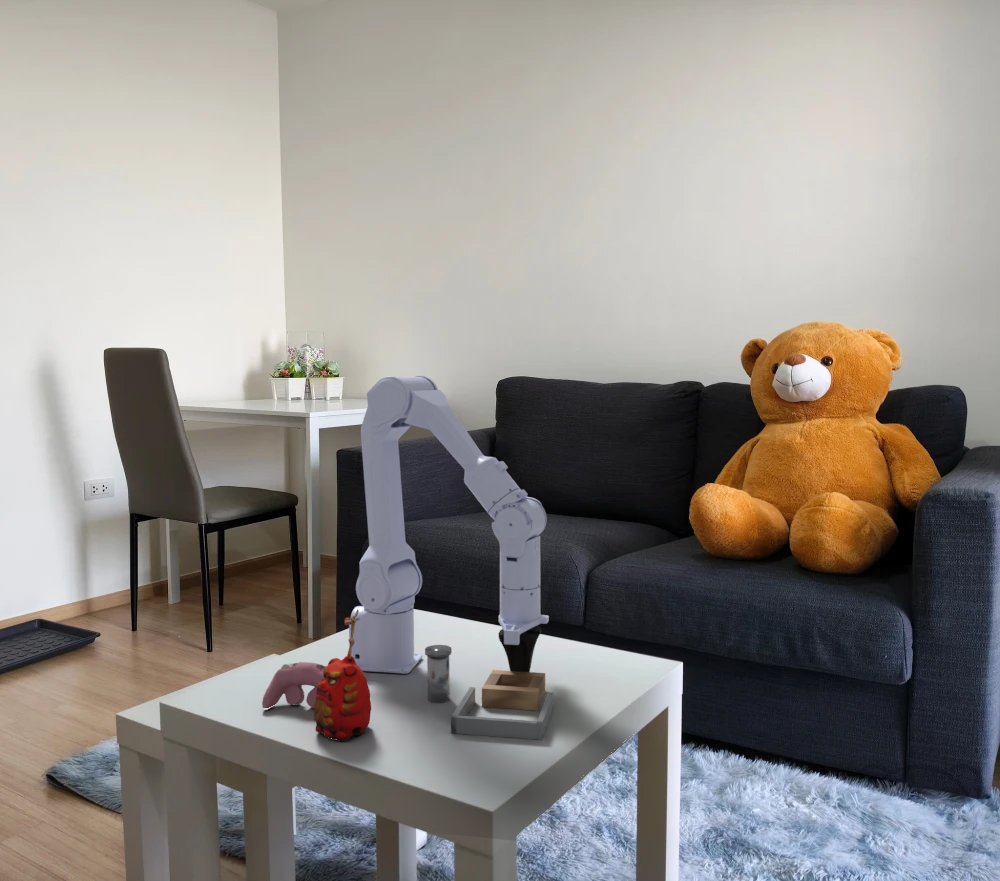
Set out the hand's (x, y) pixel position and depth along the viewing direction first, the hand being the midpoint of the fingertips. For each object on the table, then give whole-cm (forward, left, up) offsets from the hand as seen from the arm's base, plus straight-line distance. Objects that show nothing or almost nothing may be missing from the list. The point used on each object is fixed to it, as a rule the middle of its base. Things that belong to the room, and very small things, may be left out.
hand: (520, 679), depth 128 cm
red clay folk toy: (-19, -19, -1) cm, 27 cm away
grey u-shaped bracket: (0, -12, -1) cm, 12 cm away
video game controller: (-27, -13, -1) cm, 30 cm away
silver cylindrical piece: (-10, -7, -1) cm, 12 cm away
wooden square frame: (0, -5, -1) cm, 5 cm away
